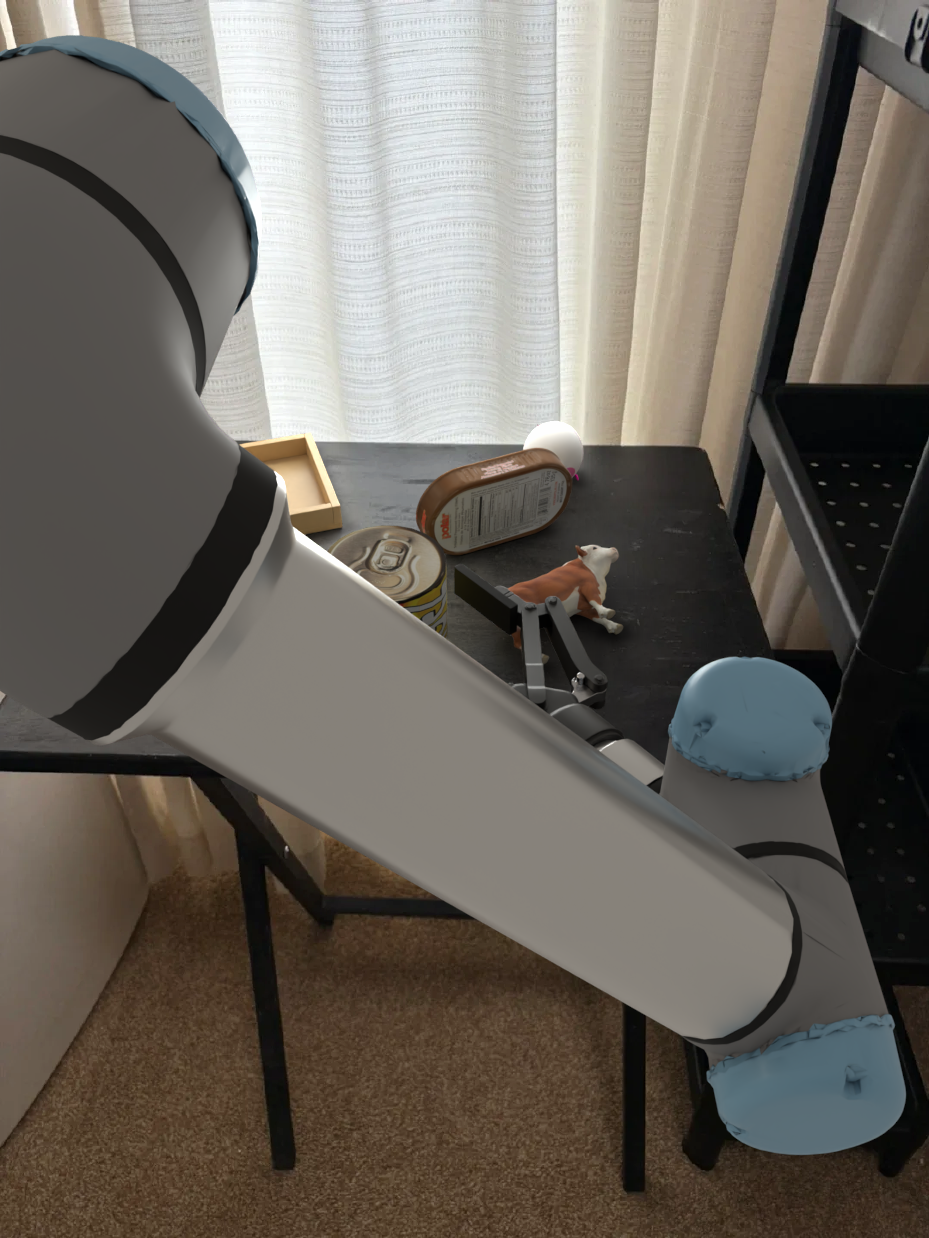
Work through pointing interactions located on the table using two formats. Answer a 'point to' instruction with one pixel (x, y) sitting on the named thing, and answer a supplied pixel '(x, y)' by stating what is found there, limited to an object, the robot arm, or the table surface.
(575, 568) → the bull figurine
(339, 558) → the beverage can
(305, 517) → the serving tray
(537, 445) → the stress ball
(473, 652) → the table surface
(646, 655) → the table surface
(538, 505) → the tin
